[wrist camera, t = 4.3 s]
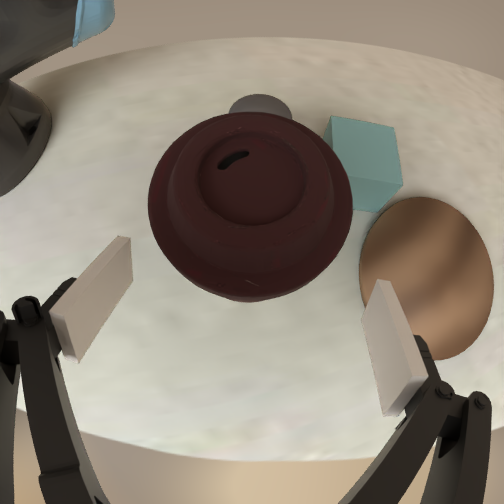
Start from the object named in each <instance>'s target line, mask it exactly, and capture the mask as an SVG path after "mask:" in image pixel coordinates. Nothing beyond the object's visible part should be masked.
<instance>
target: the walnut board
mask: <svg viewBox="0 0 504 504" xmlns="http://www.w3.org/2000/svg"><path fill="white" fill-rule="evenodd" d="M377 279H380V280H386V281H390V282H391V284H392V287H393V289H394V291H395V293H396V296H397V298H398V300H399V302H400V305H401V307H402V309H403V312H404V314H405V317H406V319H407V321H408V324H409V326H410V329H411V331H412V334H413V335H420V336H421V337H422V338H423V339H424V341H425V342H426V343H427V345H428V348H429V350H430V353H431V355H432V359H433V360H444V359H448V358H451V357H454V356H456V355H458V354H460V353H461V352H463V351H465V350H466V349H467V348H468V347H469V346H471V345H472V344H473V342H474V341H475V340H476V339H477V338H478V336H479V335H480V333H481V332H482V330H483V328H484V327H485V325H486V323H487V320H488V317H489V315H490V311H491V307H492V302H493V293H494V280H493V271H492V265H491V261H490V258H489V255H488V252H487V249H486V247H485V244H484V242H483V240H482V238H481V237H480V235H479V233H478V232H477V230H476V229H475V228H474V226H473V225H472V224H471V222H470V221H469V220H468V219H467V218H466V217H465V216H464V215H463V214H461V213H460V212H459V211H458V210H456V209H455V208H453V207H452V206H450V205H448V204H446V203H444V202H442V201H439V200H436V199H432V198H426V197H416V198H409V199H406V200H403V201H400V202H398V203H396V204H395V205H393V206H392V207H390V208H389V209H388V210H387V211H386V212H384V213H383V214H382V215H381V216H380V217H379V218H378V219H377V221H376V222H375V223H374V224H373V226H372V227H371V229H370V231H369V232H368V234H367V236H366V239H365V241H364V244H363V248H362V251H361V256H360V263H359V282H360V290H361V295H362V300H363V303H364V306H365V309H366V306H367V304H368V301H369V299H370V296H371V294H372V291H373V289H374V286H375V284H376V281H377Z"/></svg>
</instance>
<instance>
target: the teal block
mask: <svg viewBox="0 0 504 504" xmlns="http://www.w3.org/2000/svg"><path fill="white" fill-rule="evenodd" d="M323 140H324V141H325V142H326V143H327V144H328V145H329V146H330V147H331V148H332V150H333V151H334V152H335V153H336V155H337V156H338V158H339V159H340V161H341V163H342V165H343V167H344V169H345V171H346V173H347V176H348V179H349V182H350V187H351V192H352V198H353V209H354V210H362V211H369V212H378V211H379V210H380V209H381V208H382V207H383V206H384V205H385V204H386V203H387V202H388V201H389V200H390V198H391V197H392V196H393V195H394V194H395V193H396V192H397V191H398V190H399V189H400V188H401V187H402V186H403V181H402V173H401V166H400V160H399V154H398V148H397V142H396V136H395V131H394V128H393V127H388V126H384V125H379V124H374V123H369V122H364V121H359V120H354V119H348V118H342V117H336V116H331V117H330V120H329V123H328V126H327V128H326V131H325V134H324V137H323Z"/></svg>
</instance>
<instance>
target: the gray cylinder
mask: <svg viewBox="0 0 504 504" xmlns="http://www.w3.org/2000/svg"><path fill="white" fill-rule="evenodd" d="M236 112H265V113H271V114H275V115H279V116H282V117H286V118H288V119H291V120H292V115H291V112H290V110H289V108H288V107H287V106H286V104H285V103H283V102H282V101H281V100H279V99H277V98H275V97H273V96H269V95H264V94H253V95H248V96H245V97H243V98H241V99H239V100H238V101H236V102H235V103H234V104H233V105H232V107H231V108H230V111H229V113H236Z"/></svg>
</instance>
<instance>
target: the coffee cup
mask: <svg viewBox="0 0 504 504" xmlns="http://www.w3.org/2000/svg"><path fill="white" fill-rule="evenodd" d="M352 214H353V198H352V192H351V187H350V182H349V179H348V176H347V173H346V171H345V169H344V167H343V165H342V163H341V161H340V159H339V158H338V156H337V155H336V153H335V152H334V151H333V150H332V148H331V147H330V146H329V145H328V144H327V143H326V142H325V141H324V140H323V139H322V138H321V137H320V136H318V135H317V134H316V133H314V132H313V131H311V130H310V129H308V128H307V127H305V126H304V125H302V124H300V123H298V122H296V121H294V120H291V119H288V118H286V117H282V116H279V115H275V114H271V113H265V112H236V113H229V114H224V115H220V116H216V117H213V118H210V119H208V120H205V121H203V122H201V123H199V124H197V125H196V126H194V127H192V128H191V129H189V130H188V131H186V132H185V133H184V134H183V135H181V136H180V137H179V138H178V139H177V140H176V141H174V142H173V143H172V145H171V146H170V147H169V148H168V149H167V151H166V152H165V153H164V155H163V156H162V158H161V160H160V161H159V163H158V165H157V167H156V169H155V171H154V174H153V177H152V180H151V184H150V188H149V194H148V215H149V220H150V225H151V228H152V231H153V234H154V237H155V239H156V241H157V243H158V245H159V247H160V249H161V250H162V252H163V253H164V255H165V256H166V257H167V259H168V260H169V261H170V262H171V264H172V265H173V266H174V267H175V268H176V269H177V270H178V271H179V272H180V273H181V274H182V275H183V276H184V277H185V278H187V279H188V280H189V281H191V282H192V283H193V284H195V285H196V286H198V287H200V288H202V289H204V290H206V291H208V292H210V293H213V294H215V295H218V296H221V297H225V298H227V299H230V300H233V301H238V302H245V303H250V302H259V301H263V300H268V299H272V298H276V297H280V296H284V295H287V294H289V293H292V292H294V291H296V290H298V289H300V288H301V287H303V286H305V285H307V284H308V283H309V282H311V281H312V280H313V279H315V278H316V277H317V276H318V275H319V274H320V273H321V272H322V271H323V270H325V269H326V268H327V267H328V266H329V264H330V263H331V262H332V261H333V260H334V259H335V257H336V256H337V254H338V253H339V251H340V250H341V248H342V246H343V245H344V242H345V240H346V238H347V235H348V233H349V230H350V225H351V221H352Z"/></svg>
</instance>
